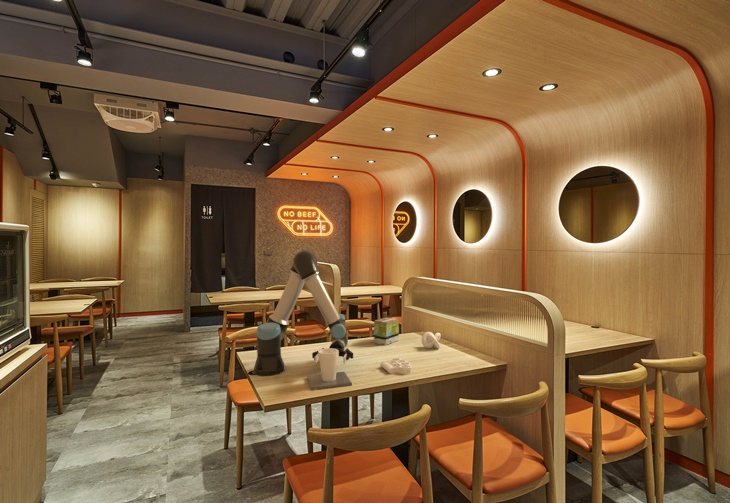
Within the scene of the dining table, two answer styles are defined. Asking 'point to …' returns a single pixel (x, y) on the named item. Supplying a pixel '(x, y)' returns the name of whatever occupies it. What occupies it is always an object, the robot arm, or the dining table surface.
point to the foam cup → (328, 363)
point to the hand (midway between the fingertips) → (329, 360)
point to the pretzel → (431, 340)
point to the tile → (340, 381)
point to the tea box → (386, 330)
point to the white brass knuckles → (397, 366)
